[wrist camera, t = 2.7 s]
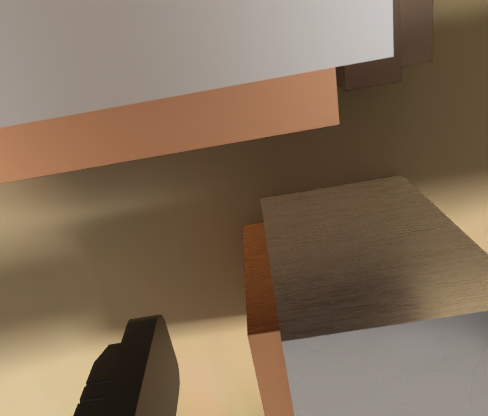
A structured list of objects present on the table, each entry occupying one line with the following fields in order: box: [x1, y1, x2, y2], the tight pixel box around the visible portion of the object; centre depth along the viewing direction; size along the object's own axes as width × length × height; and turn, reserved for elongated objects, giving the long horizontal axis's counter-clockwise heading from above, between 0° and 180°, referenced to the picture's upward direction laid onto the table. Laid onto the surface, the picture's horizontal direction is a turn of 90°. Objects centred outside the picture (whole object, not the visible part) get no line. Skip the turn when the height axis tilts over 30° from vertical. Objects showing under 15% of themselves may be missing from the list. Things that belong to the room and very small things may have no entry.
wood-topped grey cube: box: [243, 175, 488, 416], centre depth 10 cm, size 4×5×6 cm
